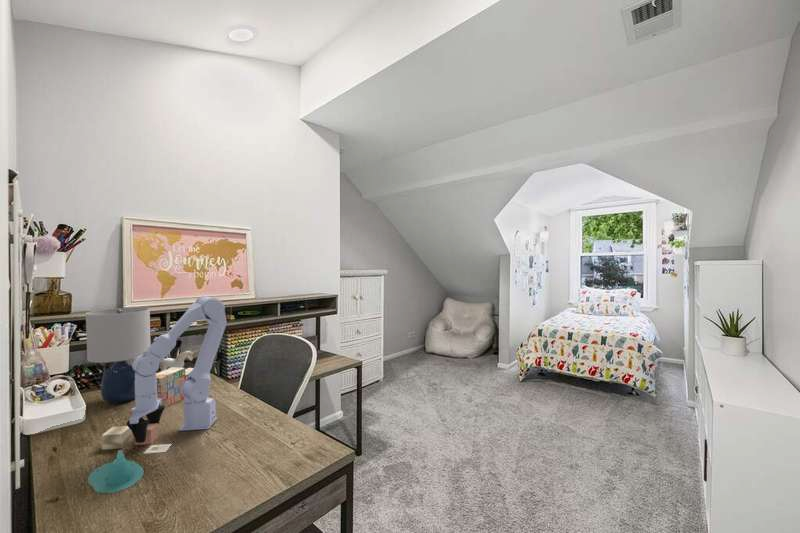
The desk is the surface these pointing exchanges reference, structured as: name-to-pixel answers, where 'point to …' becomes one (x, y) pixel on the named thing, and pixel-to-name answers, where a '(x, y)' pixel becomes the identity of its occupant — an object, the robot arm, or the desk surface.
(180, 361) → the unicorn figurine
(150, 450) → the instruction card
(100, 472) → the teal plastic funnel
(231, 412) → the desk surface
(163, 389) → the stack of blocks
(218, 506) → the desk surface
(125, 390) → the lamp
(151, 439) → the terracotta cube
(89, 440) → the desk surface
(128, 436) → the birch base block
